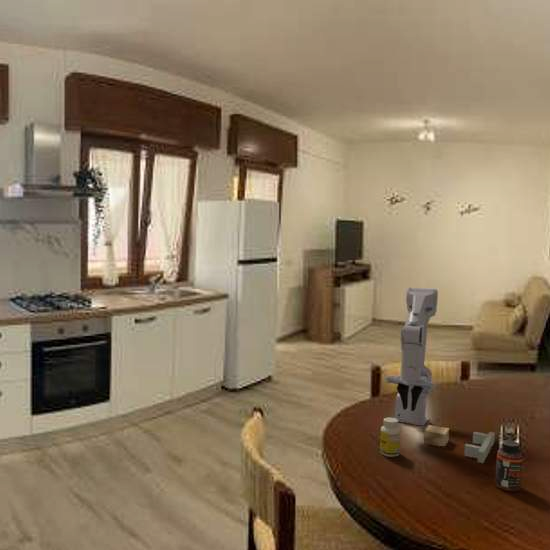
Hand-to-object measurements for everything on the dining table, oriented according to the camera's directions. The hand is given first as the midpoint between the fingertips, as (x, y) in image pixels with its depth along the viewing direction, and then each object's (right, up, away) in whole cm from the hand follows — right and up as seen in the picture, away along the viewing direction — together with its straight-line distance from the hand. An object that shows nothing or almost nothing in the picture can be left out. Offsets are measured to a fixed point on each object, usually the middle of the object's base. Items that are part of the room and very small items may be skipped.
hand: (409, 409), depth 181 cm
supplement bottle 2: (+17, -12, -33) cm, 39 cm away
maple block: (+7, -9, -3) cm, 12 cm away
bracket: (+18, -10, -9) cm, 22 cm away
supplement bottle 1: (-8, -10, -13) cm, 18 cm away
